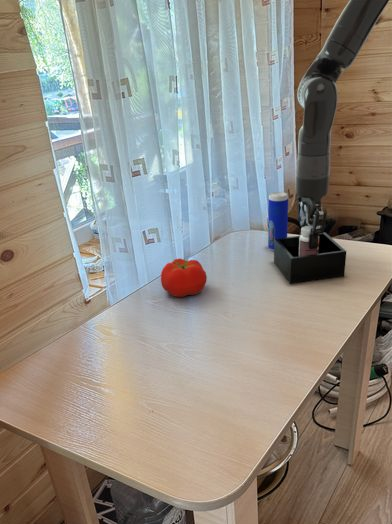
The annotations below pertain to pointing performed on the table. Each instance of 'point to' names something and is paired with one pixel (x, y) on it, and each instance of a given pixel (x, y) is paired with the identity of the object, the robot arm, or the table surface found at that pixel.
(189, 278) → the tomato
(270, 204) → the blue cylindrical container
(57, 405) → the table surface
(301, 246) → the pill bottle
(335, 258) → the black storage bin
